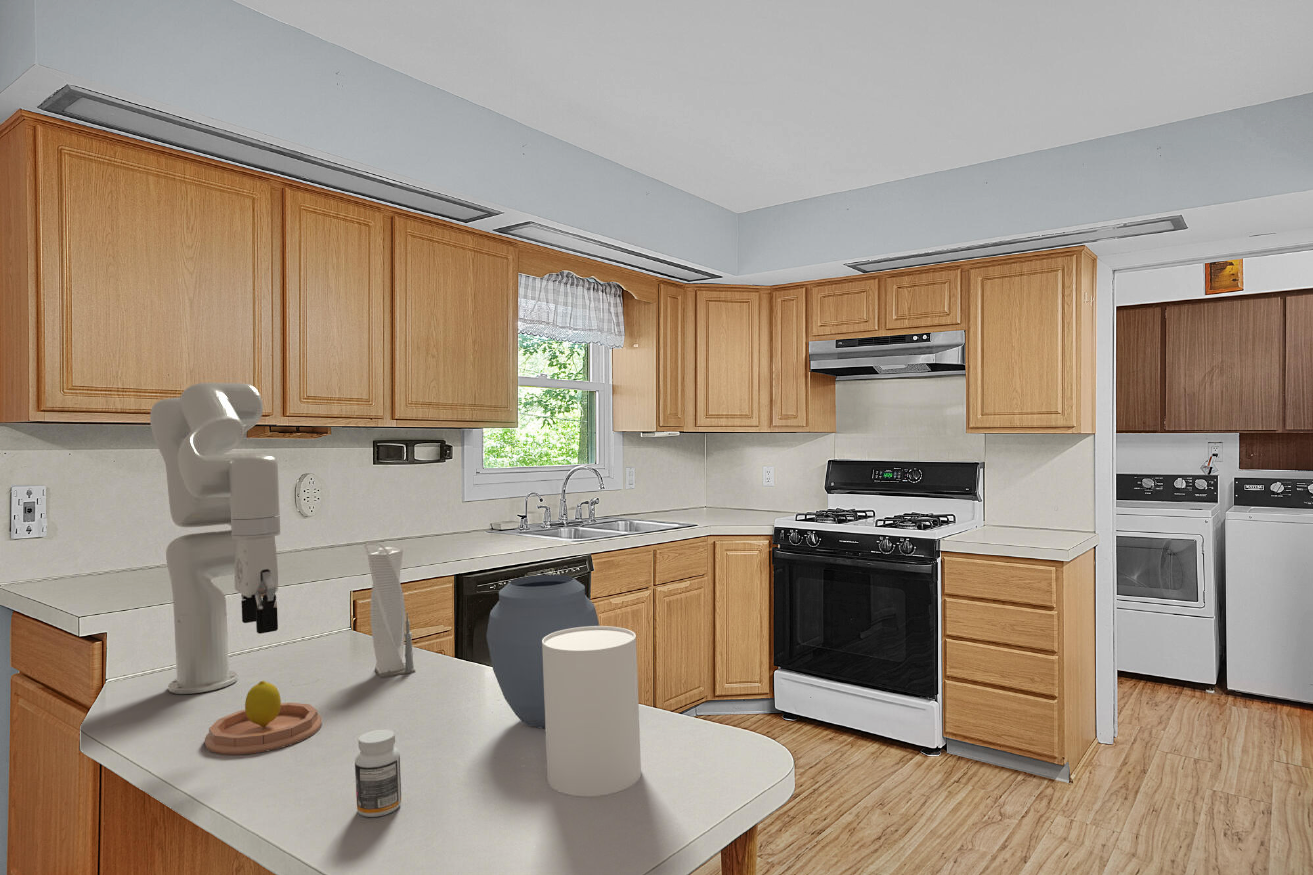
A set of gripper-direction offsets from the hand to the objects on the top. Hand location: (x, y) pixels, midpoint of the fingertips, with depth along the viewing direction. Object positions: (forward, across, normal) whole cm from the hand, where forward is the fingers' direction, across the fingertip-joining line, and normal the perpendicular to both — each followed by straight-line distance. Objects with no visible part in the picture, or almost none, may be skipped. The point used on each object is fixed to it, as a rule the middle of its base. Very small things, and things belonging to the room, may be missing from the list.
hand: (259, 626), depth 138 cm
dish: (+18, +1, 0) cm, 18 cm away
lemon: (+18, 0, 0) cm, 18 cm away
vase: (+18, +31, +38) cm, 52 cm away
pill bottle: (+18, +43, +4) cm, 46 cm away
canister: (+18, +55, +31) cm, 65 cm away
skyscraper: (+19, -19, +30) cm, 40 cm away
